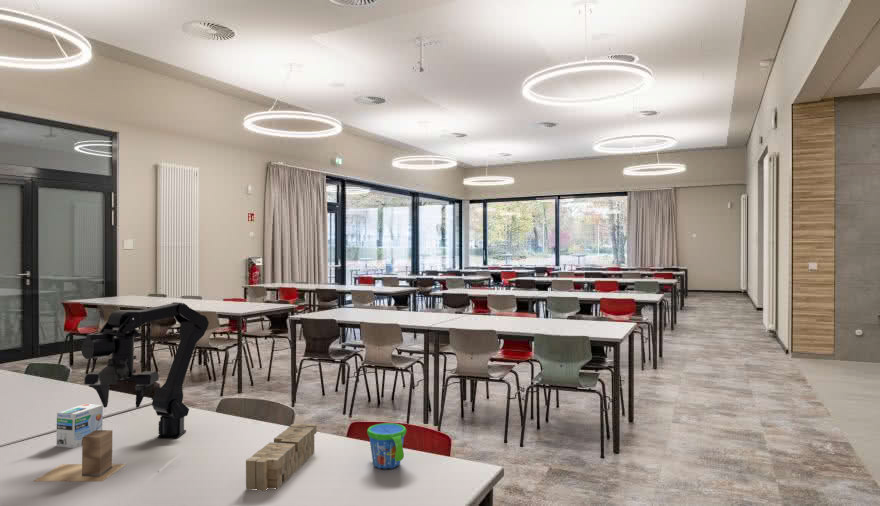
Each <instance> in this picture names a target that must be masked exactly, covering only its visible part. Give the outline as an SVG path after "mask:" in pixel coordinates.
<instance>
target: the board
mask: <svg viewBox="0 0 880 506" xmlns="http://www.w3.org/2000/svg"><path fill="white" fill-rule="evenodd" d="M126 465H127V464H124V463H123V464H121V463H117V464H116V463H112V468H111V469H110V470H108V471H107V472H105V473H104V474H102V475H101V476H82V463H81V464H80V463H79V464H78V463H76V464H74V463H73V464H69V463H68V464H67V463H64V464H63V463H62V464H60V465H58V466H57V467H54V468H53V469H52V470H50V471H48V472H46V473H44V474H43V475H41V476H39V477H38V478H36V479H34V480H33V482H103V481H104V480H107V478H109V477H110V476H112V475H113V474H114V473H116V472H117V471H120V469H121V468H123V467H124V466H126Z"/></svg>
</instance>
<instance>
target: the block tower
mask: <svg viewBox="0 0 880 506" xmlns="http://www.w3.org/2000/svg"><path fill="white" fill-rule="evenodd" d="M317 432H318V430H317V423H316V424H315V423H314V424H312V423H310V424H309V423H308V424H307V423H292V424H290V425H289V426H288V427H287V428H286V429H285V430H283V431H282V432H281V433H279V435H277V436H275V437H274V438H273V442H271V441H270V442H269V443H267V444H265V446H263V447H262V448H260V449H259V450H257V451H256V452H255V453H254V454H253V455H252V456H251V457H248V458H247V459H246V460H245V482H246V483H245V488H246V489H257V490H266V489H267V488H276V489H275V490H279V489H280V487H281V486H282V485H283V483H285V482H286V481H287V479H288V480H289V479H290V477H291V476H293V475H294V474H295V473H296V472H297V471H298V470H299V469H300V468H301V466H303V465H304V464H303V463H304V462H305V461H306V460H307V459H309V458H311V456H312V455H313V454H315V435H316V434H317ZM307 461H308V460H307ZM307 461H306V462H307ZM306 462H305V463H306ZM302 464H303V465H302ZM299 467H300V468H299ZM246 489H245V490H246ZM257 490H256V491H257ZM267 490H268V489H267ZM267 490H266V491H267Z"/></svg>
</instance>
